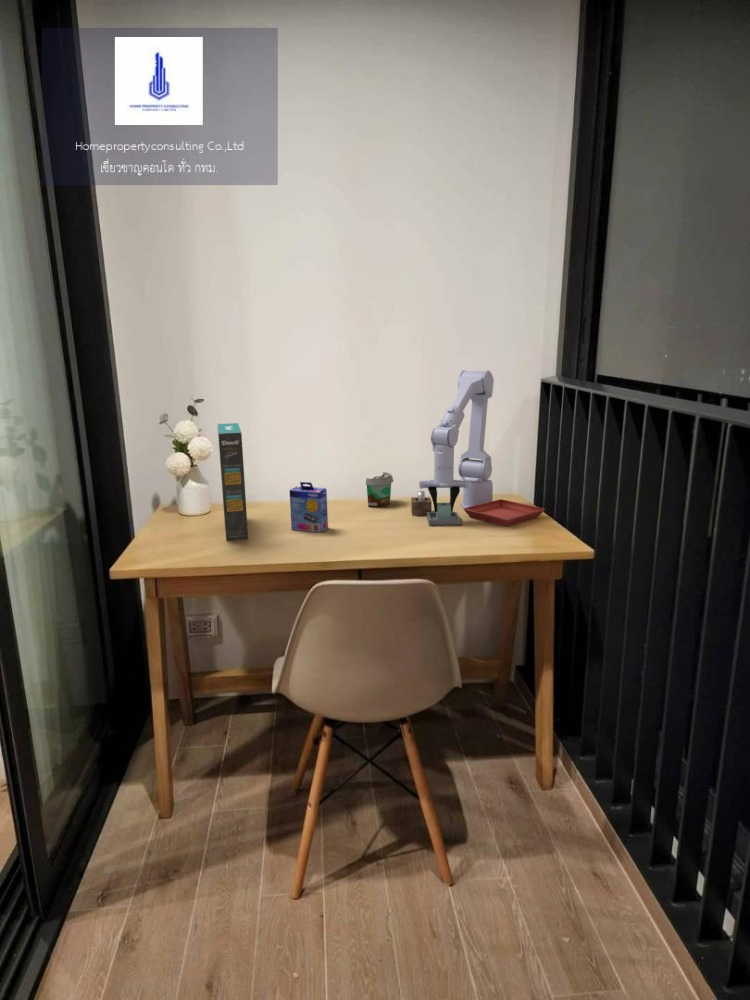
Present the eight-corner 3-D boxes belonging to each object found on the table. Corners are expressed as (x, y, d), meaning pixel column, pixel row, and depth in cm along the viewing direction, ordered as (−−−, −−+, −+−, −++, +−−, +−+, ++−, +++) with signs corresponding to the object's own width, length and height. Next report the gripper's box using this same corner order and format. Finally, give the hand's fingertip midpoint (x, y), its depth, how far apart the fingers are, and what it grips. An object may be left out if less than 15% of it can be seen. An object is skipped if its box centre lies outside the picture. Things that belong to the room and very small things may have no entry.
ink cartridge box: (290, 530, 187) (287, 482, 183) (298, 525, 192) (296, 478, 188) (321, 533, 184) (319, 484, 180) (328, 527, 189) (327, 479, 185)
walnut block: (429, 510, 206) (430, 497, 205) (431, 515, 200) (431, 501, 199) (411, 510, 206) (411, 497, 205) (412, 515, 200) (412, 501, 199)
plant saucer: (461, 517, 199) (461, 507, 198) (500, 508, 210) (500, 498, 209) (506, 530, 185) (507, 519, 184) (545, 519, 196) (546, 509, 195)
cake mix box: (224, 520, 198) (217, 423, 191) (244, 518, 200) (237, 423, 193) (226, 540, 178) (218, 433, 171) (248, 538, 179) (241, 432, 172)
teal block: (449, 518, 195) (449, 502, 194) (450, 521, 191) (450, 505, 190) (436, 518, 195) (436, 502, 194) (437, 522, 191) (437, 505, 190)
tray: (456, 517, 198) (456, 511, 197) (460, 525, 189) (460, 519, 188) (426, 517, 198) (427, 512, 197) (429, 526, 189) (429, 520, 189)
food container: (382, 510, 207) (381, 480, 205) (365, 508, 210) (365, 478, 208) (399, 502, 218) (399, 473, 215) (384, 500, 221) (383, 471, 218)
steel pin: (424, 512, 204) (424, 491, 203) (424, 514, 202) (424, 492, 200) (417, 512, 204) (417, 491, 203) (417, 514, 202) (417, 492, 201)
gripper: (420, 469, 185) (420, 514, 189) (470, 469, 185) (469, 514, 189) (418, 465, 192) (418, 508, 196) (467, 464, 192) (466, 508, 196)
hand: (443, 511), depth 193 cm, fingers closed on teal block, 4 cm apart
